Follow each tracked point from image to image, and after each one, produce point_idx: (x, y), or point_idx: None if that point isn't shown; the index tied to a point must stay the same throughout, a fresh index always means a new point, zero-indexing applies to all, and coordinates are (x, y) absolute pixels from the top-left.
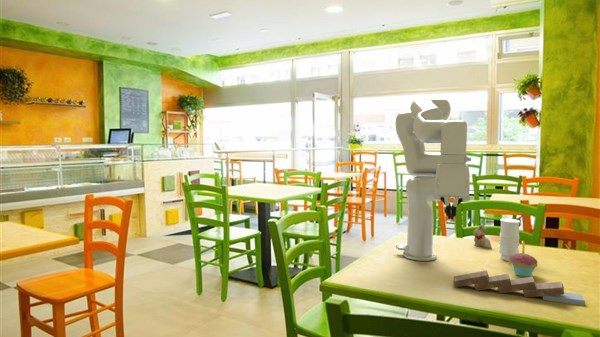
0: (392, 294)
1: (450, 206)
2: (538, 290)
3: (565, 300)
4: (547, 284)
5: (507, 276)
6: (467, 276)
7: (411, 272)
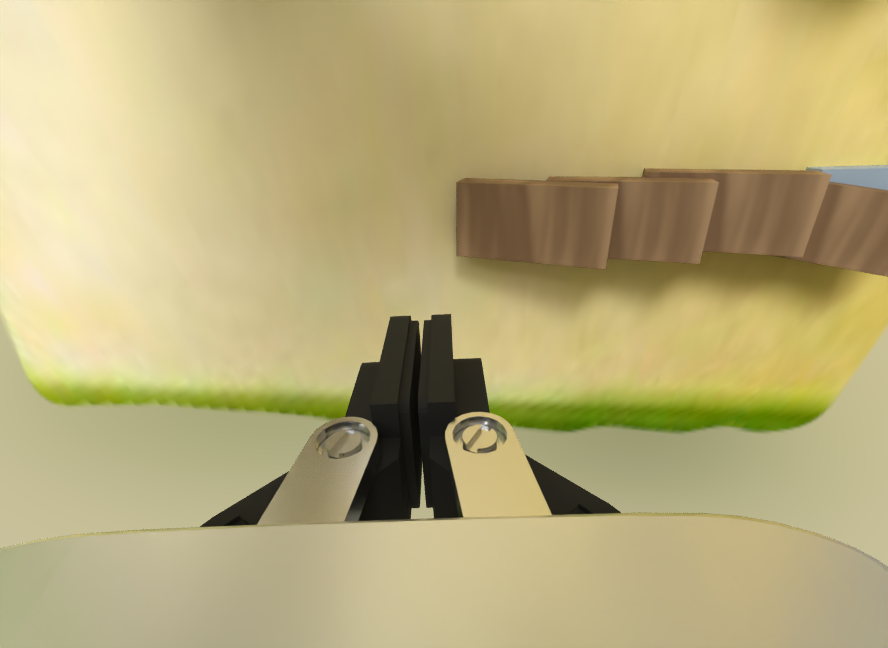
0: (279, 400)
1: (410, 485)
2: (790, 258)
3: None
4: (860, 213)
5: (701, 226)
6: (518, 228)
7: (241, 113)
